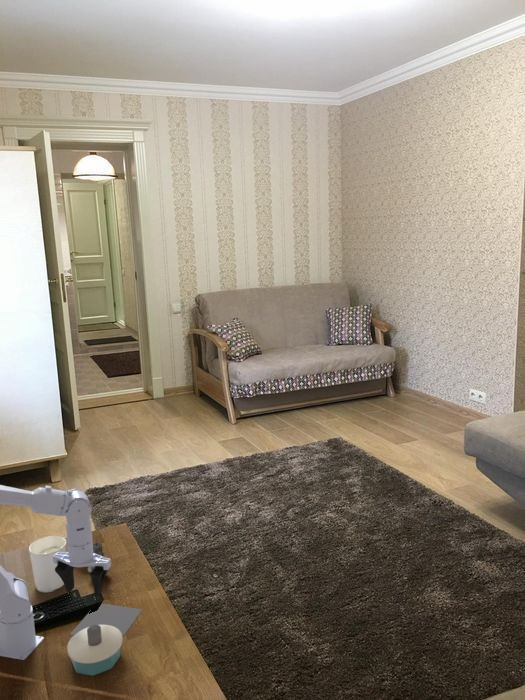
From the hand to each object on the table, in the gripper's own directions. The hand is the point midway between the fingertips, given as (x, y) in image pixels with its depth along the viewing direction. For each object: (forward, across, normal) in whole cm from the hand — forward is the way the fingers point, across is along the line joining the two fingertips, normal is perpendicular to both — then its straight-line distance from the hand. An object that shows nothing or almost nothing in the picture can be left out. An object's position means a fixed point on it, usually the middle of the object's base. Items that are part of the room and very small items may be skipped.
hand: (84, 591), depth 146 cm
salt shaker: (+10, +8, -20) cm, 24 cm away
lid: (+6, -8, +10) cm, 14 cm away
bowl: (+10, -8, +10) cm, 16 cm away
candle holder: (+10, +20, -15) cm, 27 cm away
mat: (+10, -4, -2) cm, 11 cm away
